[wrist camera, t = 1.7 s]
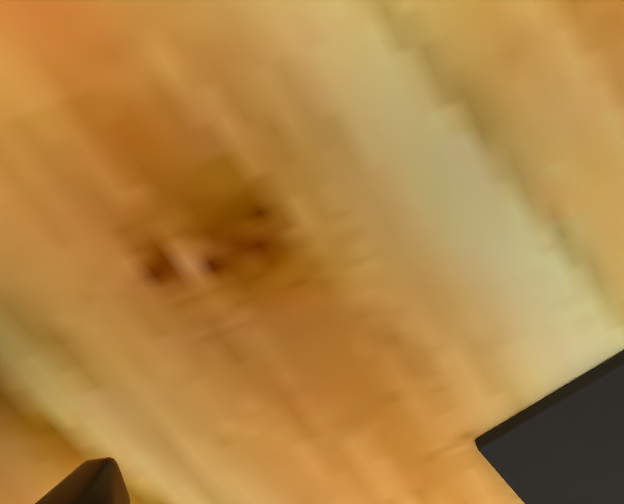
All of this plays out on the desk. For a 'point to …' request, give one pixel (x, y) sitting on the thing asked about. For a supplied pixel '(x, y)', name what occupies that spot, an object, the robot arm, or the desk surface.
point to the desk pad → (566, 443)
